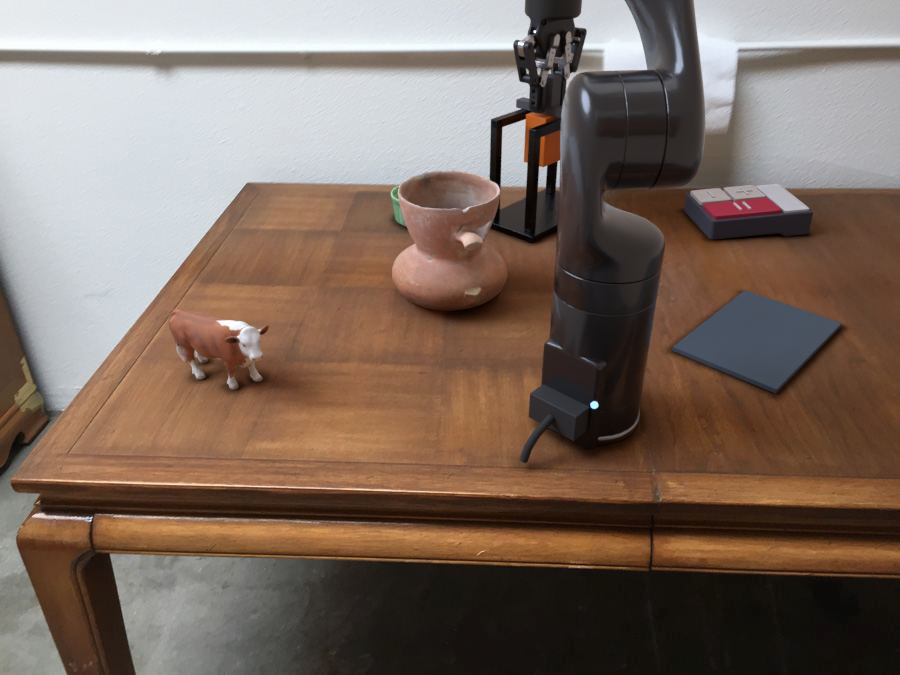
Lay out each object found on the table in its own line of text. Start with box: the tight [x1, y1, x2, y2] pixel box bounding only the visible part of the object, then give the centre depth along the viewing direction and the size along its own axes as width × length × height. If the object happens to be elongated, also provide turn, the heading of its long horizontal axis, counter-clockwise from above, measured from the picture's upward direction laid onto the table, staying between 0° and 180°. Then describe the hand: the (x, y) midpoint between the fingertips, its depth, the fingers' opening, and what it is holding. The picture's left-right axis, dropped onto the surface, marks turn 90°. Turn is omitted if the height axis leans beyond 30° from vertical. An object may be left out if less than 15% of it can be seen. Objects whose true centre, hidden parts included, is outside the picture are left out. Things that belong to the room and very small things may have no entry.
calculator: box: [683, 183, 814, 241], centre depth 115 cm, size 11×4×15 cm
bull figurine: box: [168, 308, 270, 391], centre depth 80 cm, size 4×13×8 cm, turn 58°
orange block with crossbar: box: [515, 73, 562, 168], centre depth 110 cm, size 5×10×12 cm, turn 47°
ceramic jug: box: [391, 170, 508, 311], centre depth 95 cm, size 18×14×14 cm
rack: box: [489, 108, 561, 244], centre depth 114 cm, size 17×10×16 cm, turn 137°
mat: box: [671, 289, 843, 395], centre depth 88 cm, size 18×12×1 cm, turn 137°
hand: (546, 108), depth 110 cm, fingers open, 4 cm apart
